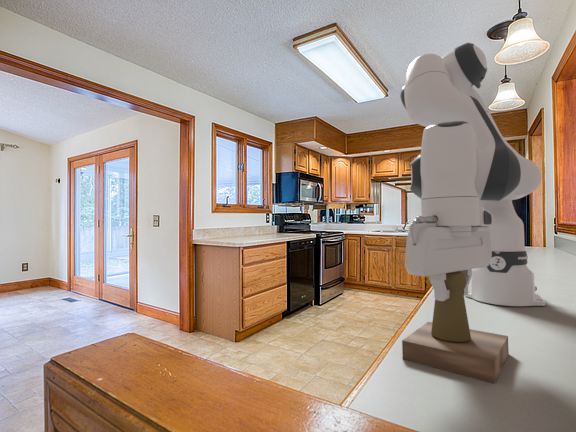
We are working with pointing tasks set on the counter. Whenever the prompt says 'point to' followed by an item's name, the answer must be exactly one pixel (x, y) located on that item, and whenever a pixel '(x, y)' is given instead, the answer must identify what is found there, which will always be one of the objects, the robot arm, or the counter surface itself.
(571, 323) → the counter surface
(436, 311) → the olive pawn
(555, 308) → the counter surface
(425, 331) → the walnut base
